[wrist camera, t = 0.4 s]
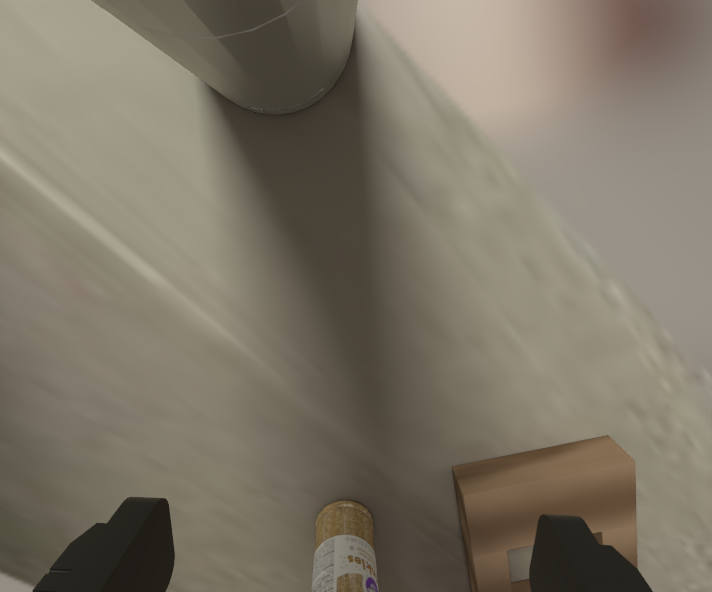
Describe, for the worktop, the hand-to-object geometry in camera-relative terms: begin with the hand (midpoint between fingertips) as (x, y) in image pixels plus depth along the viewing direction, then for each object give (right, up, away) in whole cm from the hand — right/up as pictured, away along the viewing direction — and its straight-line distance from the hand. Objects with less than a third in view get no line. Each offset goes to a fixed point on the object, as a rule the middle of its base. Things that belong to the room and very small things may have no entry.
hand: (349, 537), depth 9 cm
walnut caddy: (+15, -15, +25) cm, 33 cm away
